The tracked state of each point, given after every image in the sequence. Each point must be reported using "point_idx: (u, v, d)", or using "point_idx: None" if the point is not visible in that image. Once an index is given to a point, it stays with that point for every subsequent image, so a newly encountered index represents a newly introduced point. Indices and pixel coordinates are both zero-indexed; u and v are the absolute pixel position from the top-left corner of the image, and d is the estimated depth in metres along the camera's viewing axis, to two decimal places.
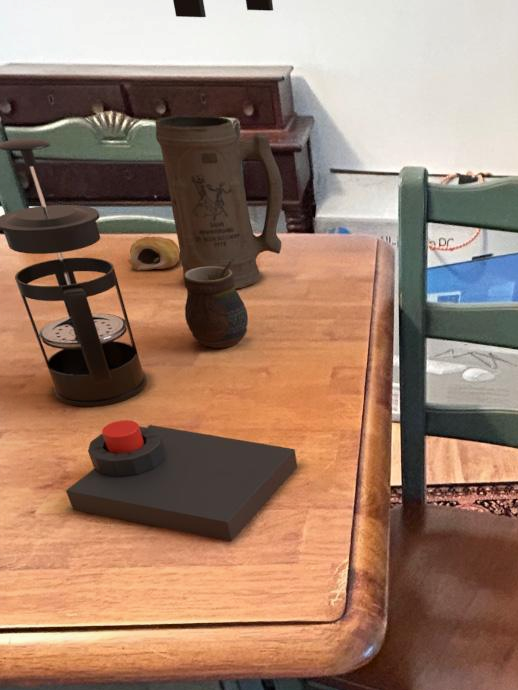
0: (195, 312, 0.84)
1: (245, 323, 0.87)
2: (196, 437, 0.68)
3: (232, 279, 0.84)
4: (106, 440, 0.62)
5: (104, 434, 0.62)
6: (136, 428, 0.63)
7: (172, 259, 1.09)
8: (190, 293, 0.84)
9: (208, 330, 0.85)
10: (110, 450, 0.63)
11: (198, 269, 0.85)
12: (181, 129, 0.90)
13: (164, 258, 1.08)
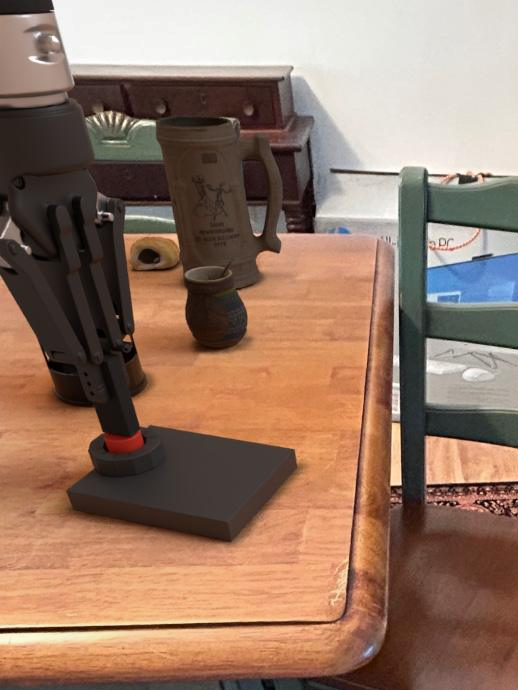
0: (195, 312, 0.84)
1: (245, 323, 0.87)
2: (196, 437, 0.68)
3: (232, 279, 0.84)
4: (108, 444, 0.62)
5: (105, 439, 0.62)
6: (137, 432, 0.63)
7: (172, 259, 1.09)
8: (190, 293, 0.84)
9: (208, 330, 0.85)
10: None
11: (198, 269, 0.85)
12: (181, 129, 0.90)
13: (164, 258, 1.08)
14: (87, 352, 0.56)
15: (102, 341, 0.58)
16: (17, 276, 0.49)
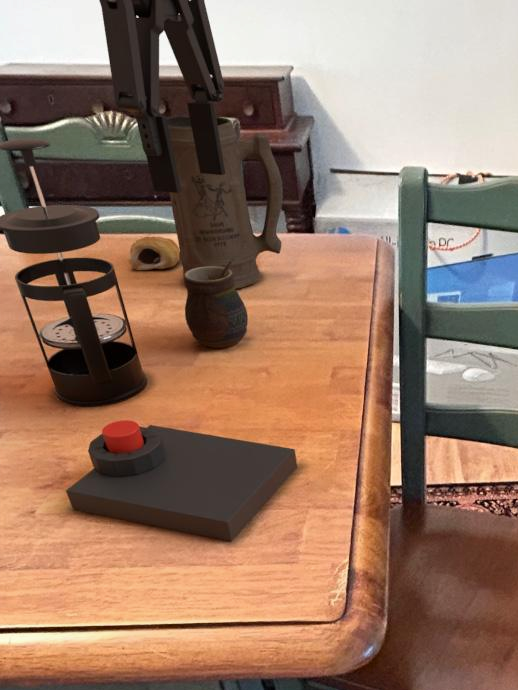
0: (195, 312, 0.84)
1: (245, 323, 0.87)
2: (196, 437, 0.68)
3: (232, 279, 0.84)
4: (106, 440, 0.62)
5: (104, 434, 0.62)
6: (136, 428, 0.63)
7: (172, 259, 1.09)
8: (190, 293, 0.84)
9: (208, 330, 0.85)
10: (110, 450, 0.63)
11: (198, 269, 0.85)
12: (181, 129, 0.90)
13: (165, 258, 1.08)
14: (147, 100, 0.69)
15: (201, 94, 0.77)
16: (116, 9, 0.64)
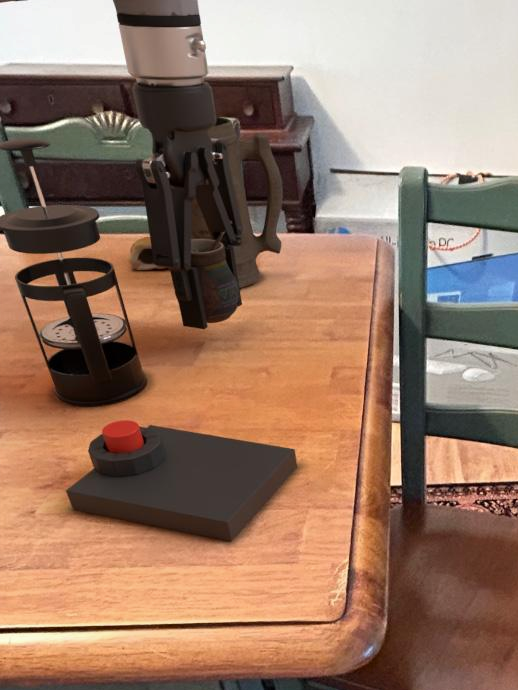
0: None
1: (236, 298, 0.85)
2: (196, 437, 0.68)
3: (223, 252, 0.82)
4: (106, 440, 0.62)
5: (104, 434, 0.62)
6: (136, 428, 0.63)
7: None
8: None
9: None
10: (110, 450, 0.63)
11: None
12: None
13: None
14: (181, 258, 0.78)
15: (222, 239, 0.86)
16: (156, 189, 0.73)
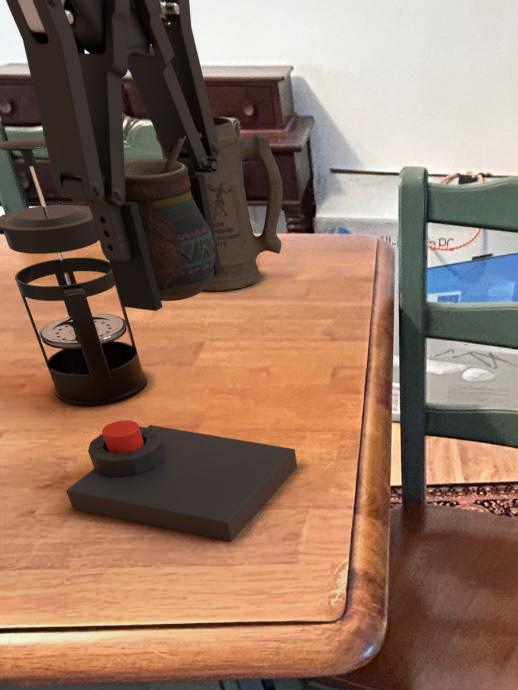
0: None
1: (210, 259, 0.51)
2: (196, 437, 0.68)
3: (186, 178, 0.48)
4: (106, 440, 0.62)
5: (104, 434, 0.62)
6: (136, 428, 0.63)
7: None
8: None
9: None
10: (110, 450, 0.63)
11: (128, 163, 0.49)
12: None
13: None
14: (107, 183, 0.44)
15: (186, 162, 0.52)
16: (47, 45, 0.39)
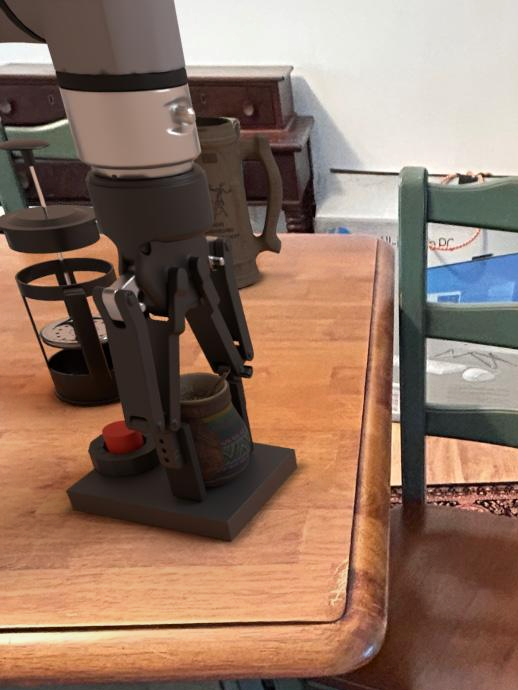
0: None
1: (247, 452, 0.61)
2: None
3: (228, 394, 0.58)
4: (106, 440, 0.62)
5: (104, 434, 0.62)
6: None
7: None
8: None
9: None
10: (110, 450, 0.63)
11: None
12: None
13: None
14: (166, 416, 0.53)
15: (226, 370, 0.61)
16: (124, 330, 0.48)
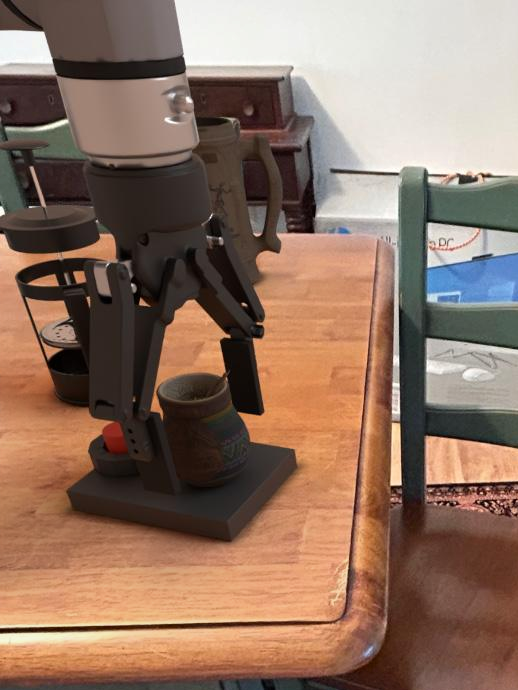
0: (174, 444, 0.58)
1: (247, 452, 0.61)
2: None
3: (228, 394, 0.58)
4: (106, 440, 0.62)
5: (104, 434, 0.62)
6: None
7: None
8: (166, 416, 0.57)
9: (193, 468, 0.58)
10: (110, 450, 0.63)
11: (179, 378, 0.59)
12: None
13: None
14: (136, 401, 0.50)
15: (238, 333, 0.62)
16: (110, 305, 0.47)
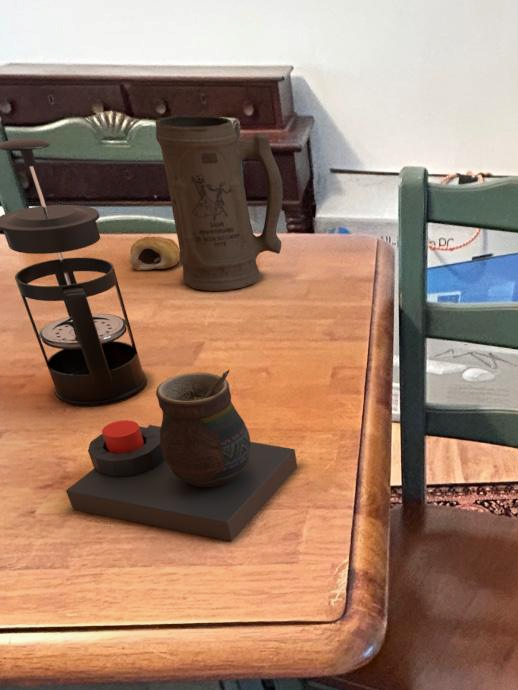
0: (174, 444, 0.58)
1: (247, 452, 0.61)
2: None
3: (228, 394, 0.58)
4: (106, 440, 0.62)
5: (104, 434, 0.62)
6: (136, 428, 0.63)
7: (172, 259, 1.09)
8: (166, 416, 0.57)
9: (193, 468, 0.58)
10: (110, 450, 0.63)
11: (178, 378, 0.59)
12: (181, 129, 0.90)
13: (165, 258, 1.08)
14: None
15: None
16: None
